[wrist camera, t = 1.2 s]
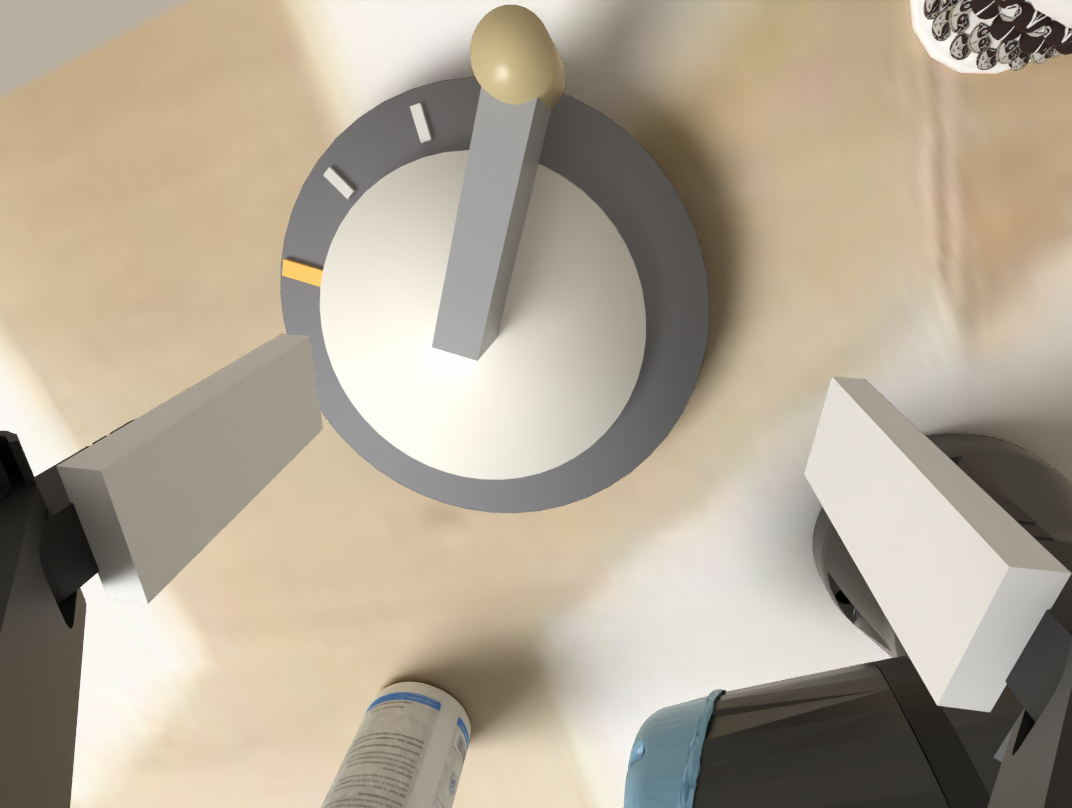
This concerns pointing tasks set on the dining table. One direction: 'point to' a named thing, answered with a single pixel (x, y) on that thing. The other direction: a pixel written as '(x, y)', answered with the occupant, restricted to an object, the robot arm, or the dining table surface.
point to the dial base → (602, 173)
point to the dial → (487, 287)
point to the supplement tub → (404, 751)
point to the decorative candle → (992, 32)
